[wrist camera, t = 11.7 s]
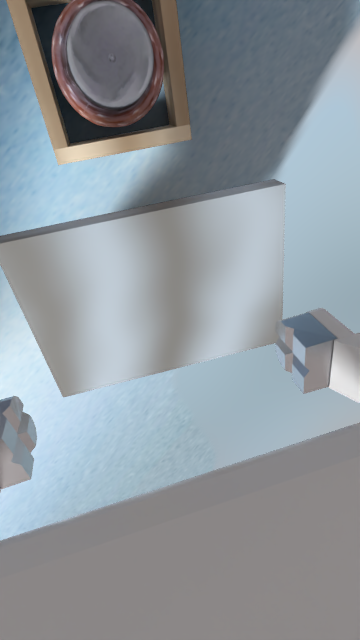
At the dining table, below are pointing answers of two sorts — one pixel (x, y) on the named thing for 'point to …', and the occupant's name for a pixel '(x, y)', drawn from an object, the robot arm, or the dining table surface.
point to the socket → (67, 152)
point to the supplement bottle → (107, 60)
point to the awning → (152, 284)
